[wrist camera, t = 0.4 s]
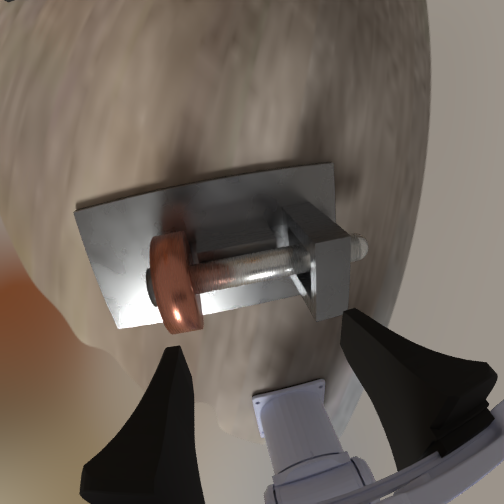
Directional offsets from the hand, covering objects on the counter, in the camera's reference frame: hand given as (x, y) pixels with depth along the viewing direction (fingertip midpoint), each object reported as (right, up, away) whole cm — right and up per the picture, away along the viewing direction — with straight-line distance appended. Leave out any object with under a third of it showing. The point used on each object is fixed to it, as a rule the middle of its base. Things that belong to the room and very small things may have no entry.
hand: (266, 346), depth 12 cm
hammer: (0, +4, +8) cm, 10 cm away
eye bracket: (-3, +4, +9) cm, 10 cm away
